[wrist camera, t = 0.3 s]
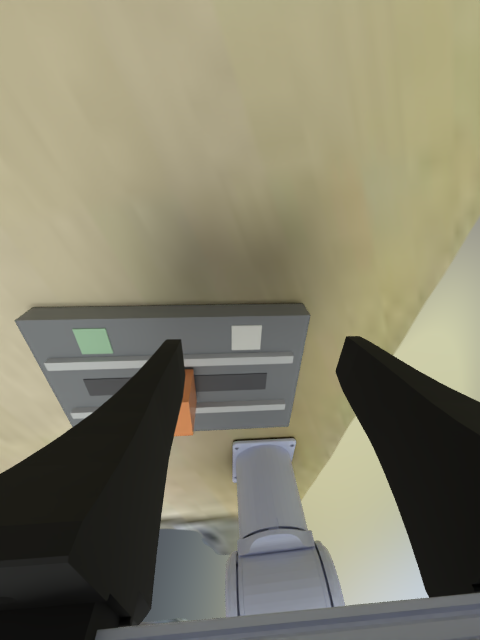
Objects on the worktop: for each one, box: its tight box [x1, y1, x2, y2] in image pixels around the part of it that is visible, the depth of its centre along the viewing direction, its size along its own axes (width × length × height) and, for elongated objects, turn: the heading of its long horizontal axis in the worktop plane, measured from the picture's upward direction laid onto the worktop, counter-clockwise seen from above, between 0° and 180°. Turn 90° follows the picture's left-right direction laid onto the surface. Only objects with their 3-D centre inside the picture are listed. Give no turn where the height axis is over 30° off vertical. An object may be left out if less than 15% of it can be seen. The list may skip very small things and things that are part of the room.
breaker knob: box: [174, 369, 197, 436], centre depth 20 cm, size 4×3×4 cm
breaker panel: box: [15, 304, 310, 431], centre depth 23 cm, size 14×22×3 cm, turn 89°
